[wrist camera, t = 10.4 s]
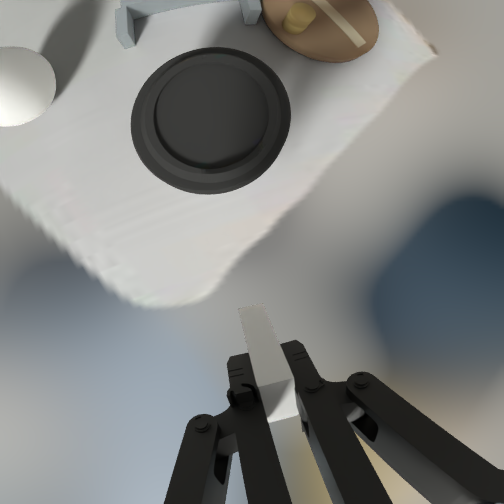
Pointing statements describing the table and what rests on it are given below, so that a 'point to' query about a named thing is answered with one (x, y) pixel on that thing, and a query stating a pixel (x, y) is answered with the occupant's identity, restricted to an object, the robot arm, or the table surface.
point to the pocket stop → (147, 3)
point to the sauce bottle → (24, 85)
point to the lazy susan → (323, 27)
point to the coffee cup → (210, 120)
